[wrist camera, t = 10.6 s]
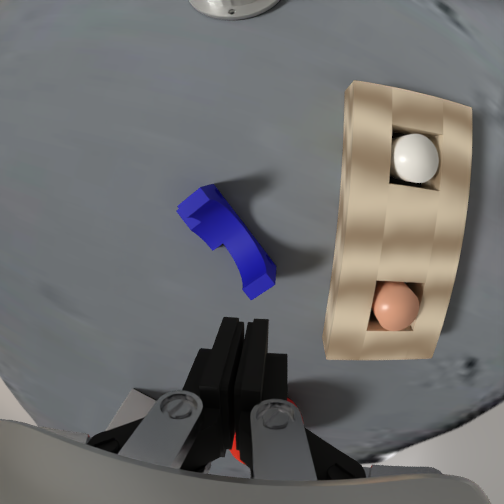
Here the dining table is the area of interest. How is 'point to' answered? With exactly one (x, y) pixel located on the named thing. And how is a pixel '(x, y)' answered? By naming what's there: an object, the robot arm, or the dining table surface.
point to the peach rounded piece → (394, 305)
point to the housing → (396, 222)
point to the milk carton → (132, 409)
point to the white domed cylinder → (413, 158)
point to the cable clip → (229, 237)
